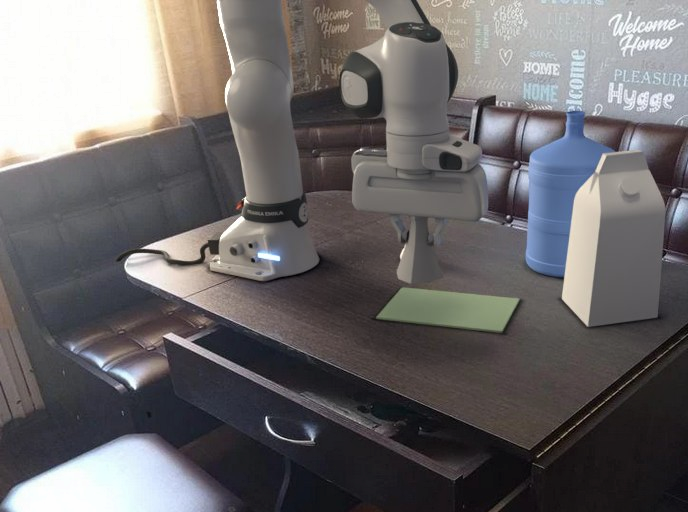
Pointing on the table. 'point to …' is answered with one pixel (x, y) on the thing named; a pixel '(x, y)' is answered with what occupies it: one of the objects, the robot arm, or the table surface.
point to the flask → (418, 255)
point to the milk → (616, 243)
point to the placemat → (450, 309)
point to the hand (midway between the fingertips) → (419, 243)
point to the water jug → (558, 194)
